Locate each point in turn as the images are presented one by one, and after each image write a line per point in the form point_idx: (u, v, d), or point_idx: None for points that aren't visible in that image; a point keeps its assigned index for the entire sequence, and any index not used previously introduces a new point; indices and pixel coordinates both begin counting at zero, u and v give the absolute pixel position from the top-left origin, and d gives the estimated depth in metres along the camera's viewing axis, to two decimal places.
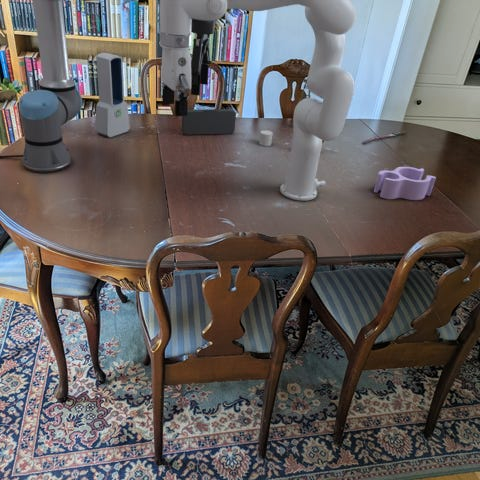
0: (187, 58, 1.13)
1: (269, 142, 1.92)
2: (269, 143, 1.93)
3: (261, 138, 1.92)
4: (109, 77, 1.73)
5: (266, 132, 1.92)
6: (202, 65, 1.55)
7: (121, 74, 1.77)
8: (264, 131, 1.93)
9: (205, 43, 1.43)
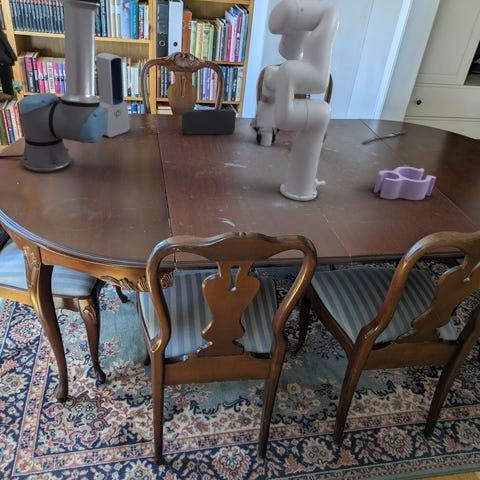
0: None
1: (269, 142, 1.92)
2: (269, 143, 1.93)
3: (261, 138, 1.92)
4: (109, 77, 1.73)
5: (266, 132, 1.92)
6: (0, 67, 1.07)
7: (121, 74, 1.77)
8: (264, 131, 1.93)
9: None
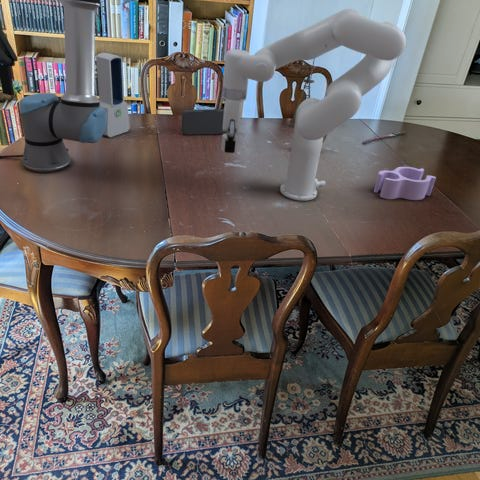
0: None
1: None
2: None
3: None
4: (109, 77, 1.73)
5: None
6: (0, 67, 1.07)
7: (121, 74, 1.77)
8: (226, 136, 1.50)
9: None
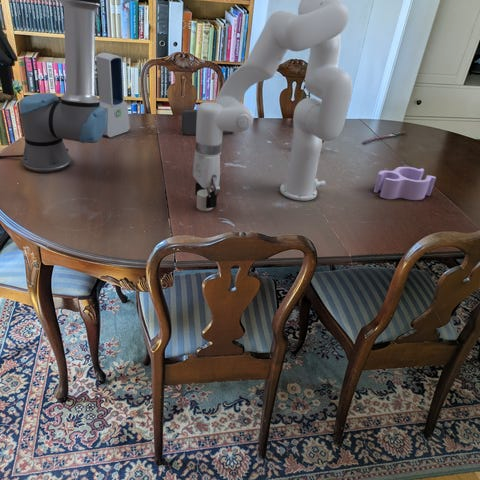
0: None
1: None
2: None
3: None
4: (109, 77, 1.73)
5: (205, 193, 1.42)
6: (0, 67, 1.07)
7: (121, 74, 1.77)
8: (202, 194, 1.41)
9: None
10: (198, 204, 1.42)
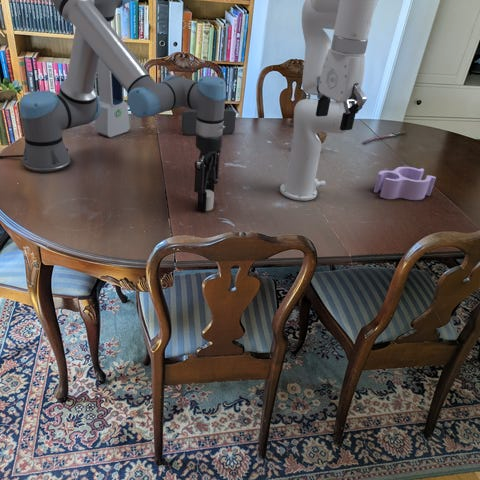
0: None
1: None
2: None
3: (211, 202, 1.42)
4: (109, 77, 1.73)
5: None
6: (207, 184, 1.43)
7: None
8: None
9: (210, 160, 1.34)
10: None
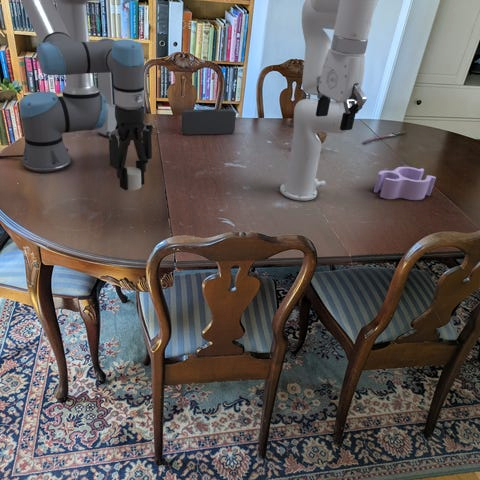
0: None
1: None
2: None
3: (135, 181, 1.30)
4: (109, 77, 1.73)
5: (131, 170, 1.31)
6: (137, 162, 1.32)
7: None
8: (127, 171, 1.30)
9: (127, 134, 1.22)
10: None
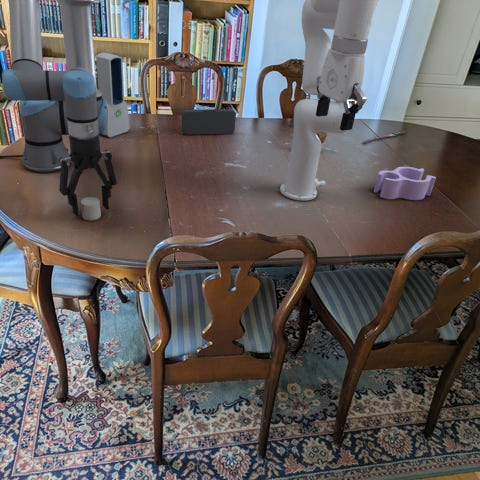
0: None
1: None
2: None
3: (91, 211, 1.31)
4: (109, 77, 1.73)
5: (90, 201, 1.31)
6: (102, 188, 1.32)
7: (121, 74, 1.77)
8: (85, 201, 1.31)
9: (80, 162, 1.22)
10: None
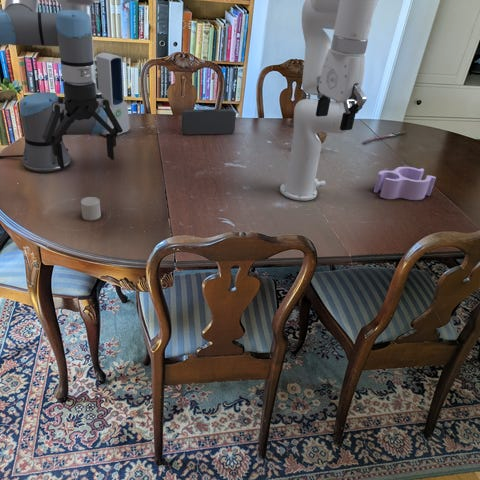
0: None
1: None
2: None
3: (91, 211, 1.31)
4: (109, 77, 1.73)
5: (90, 201, 1.31)
6: (107, 136, 1.26)
7: (121, 74, 1.77)
8: (85, 201, 1.31)
9: (75, 110, 1.15)
10: None
